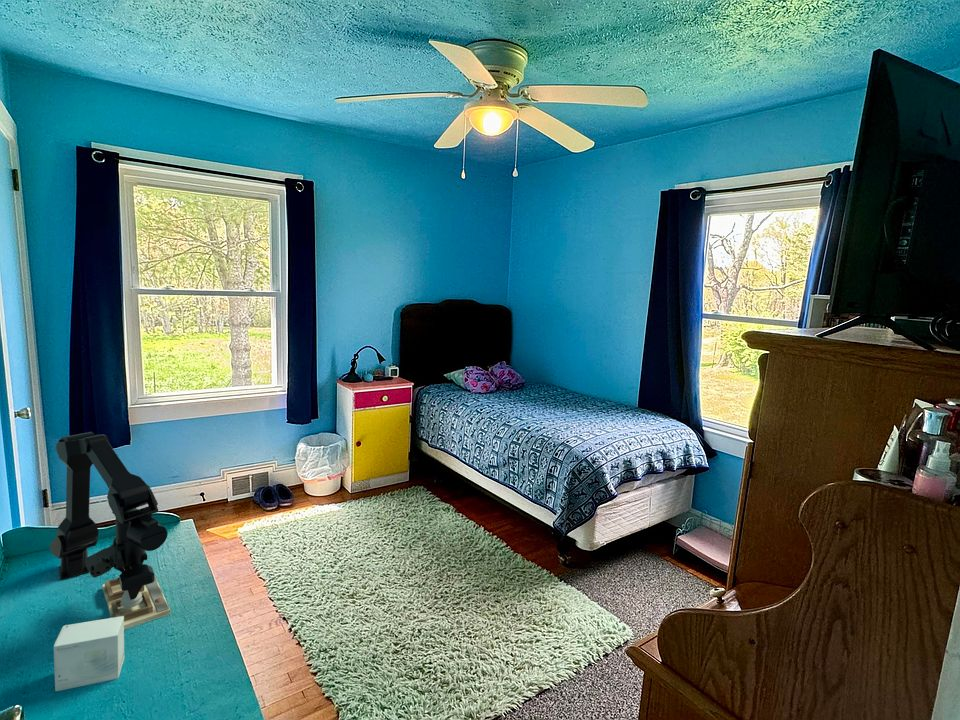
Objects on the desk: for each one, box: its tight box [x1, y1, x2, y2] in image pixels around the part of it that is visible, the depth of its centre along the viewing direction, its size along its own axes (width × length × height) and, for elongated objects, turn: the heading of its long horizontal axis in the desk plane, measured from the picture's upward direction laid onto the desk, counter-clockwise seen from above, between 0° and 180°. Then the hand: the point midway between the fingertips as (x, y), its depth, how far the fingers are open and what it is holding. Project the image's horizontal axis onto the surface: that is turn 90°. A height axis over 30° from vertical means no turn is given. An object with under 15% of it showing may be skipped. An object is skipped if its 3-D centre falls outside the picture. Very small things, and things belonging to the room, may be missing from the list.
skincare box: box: [53, 616, 126, 692], centre depth 102 cm, size 10×6×10 cm, turn 115°
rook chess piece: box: [120, 590, 143, 608], centre depth 120 cm, size 4×4×8 cm
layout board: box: [101, 574, 171, 631], centre depth 125 cm, size 20×11×3 cm, turn 44°
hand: (131, 594), depth 120 cm, fingers closed on rook chess piece, 3 cm apart
